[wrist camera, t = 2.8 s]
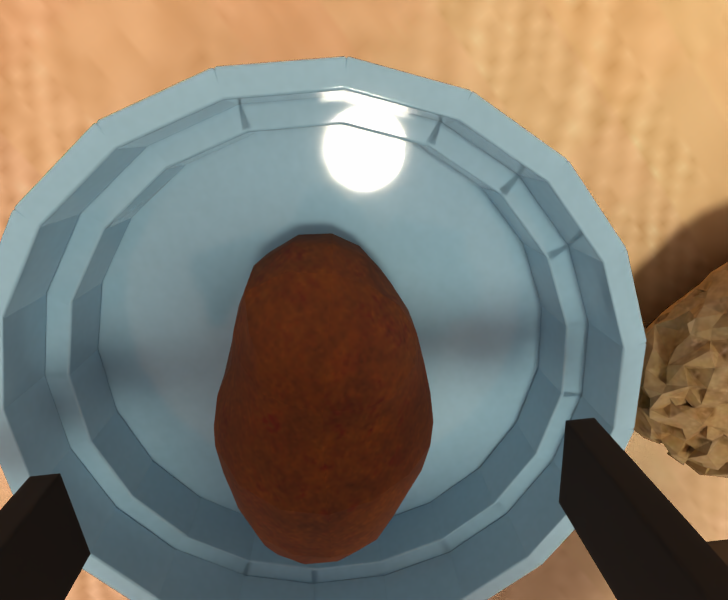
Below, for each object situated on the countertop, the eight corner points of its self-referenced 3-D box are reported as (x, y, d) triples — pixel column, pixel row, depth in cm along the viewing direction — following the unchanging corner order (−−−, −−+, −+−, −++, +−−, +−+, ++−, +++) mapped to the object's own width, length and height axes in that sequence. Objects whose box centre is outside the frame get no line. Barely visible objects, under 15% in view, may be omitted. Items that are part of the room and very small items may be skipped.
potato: (424, 224, 18) (487, 287, 11) (408, 466, 22) (447, 638, 15) (224, 222, 18) (145, 288, 10) (244, 471, 22) (198, 650, 14)
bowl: (556, 519, 24) (609, 612, 20) (136, 566, 24) (87, 674, 19) (592, 57, 17) (692, 27, 12) (-16, 105, 16) (-157, 95, 12)
